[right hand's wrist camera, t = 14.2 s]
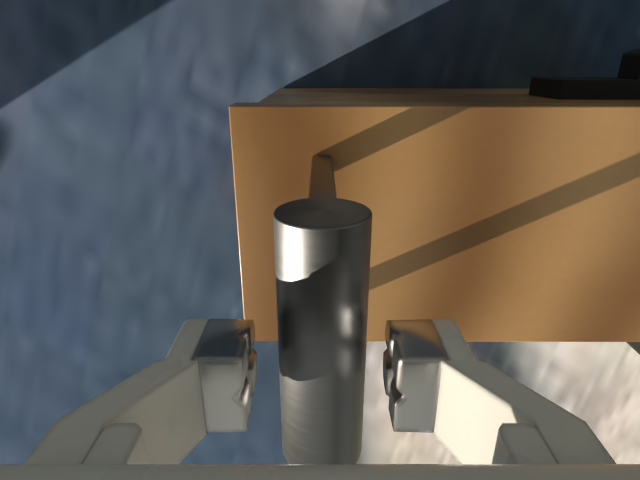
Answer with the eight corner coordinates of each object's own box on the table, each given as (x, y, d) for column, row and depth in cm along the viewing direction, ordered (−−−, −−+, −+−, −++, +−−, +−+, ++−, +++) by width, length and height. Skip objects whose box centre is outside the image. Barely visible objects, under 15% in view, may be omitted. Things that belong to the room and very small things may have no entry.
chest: (284, 243, 28) (267, 324, 20) (279, 88, 25) (256, 102, 16) (533, 244, 28) (626, 325, 20) (563, 88, 25) (693, 102, 16)
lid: (249, 324, 20) (196, 521, 11) (235, 102, 16) (140, 148, 8) (627, 325, 20) (857, 523, 11) (694, 103, 16) (1100, 149, 8)
